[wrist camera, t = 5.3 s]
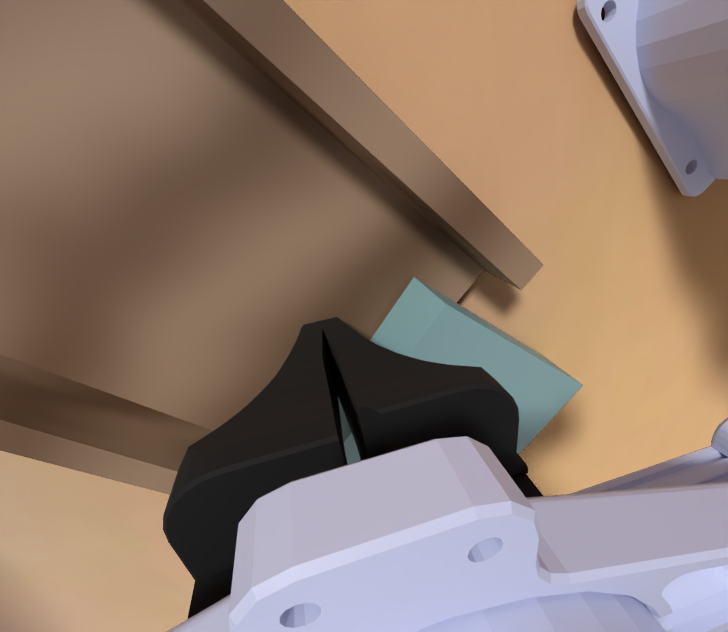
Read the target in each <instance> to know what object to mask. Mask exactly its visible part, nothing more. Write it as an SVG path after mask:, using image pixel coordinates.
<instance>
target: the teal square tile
mask: <svg viewBox="0 0 728 632" xmlns="http://www.w3.org/2000/svg"><path fill="white" fill-rule="evenodd" d="M370 341H372V342H374V343H375V344H377V345H379V346H382V347H384V348H386V349H389V350H391V351H394V352H396V353H399V354H402V355H405V356H409V357H412V358H416V359H420V360H424V361H429V362H435V363H441V364H448V365H460V366H474V367H482V368H483V369H484V370H485V371H486V372H488V373H489V374H490V375H491V376H492V377H493V378H495V379H496V380H497V381H498V382H499V383H500V384H501V385H502V386H503V388H504V389H505V390H506V391H507V392H508V393H509V394H510V395H511V396H512V397H513V398H514V400H515V402H516V404H517V406H518V410H519V430H518V442H517V453H518V455H519V454H520V453H521V452H522V451H523V450H524V448H525V447H526V446H527V445H528V444H529V443H530V442H531V441H532V440H533V439H534V438H535V437H536V436H537V434H538V433H539V432H540V431H541V430H542V429H543V428H544V427H545V426H546V425H547V424H548V423H549V422H550V420H551V419H552V418H553V417H554V416H555V415H556V414H557V413H558V412H559V411H560V410H561V409H562V408H563V406H564V405H565V404H566V403H567V402H568V401H569V400H570V399H571V398H572V397H573V396H574V395H575V394H576V392H577V391H578V390H579V389H580V388H581V387H582V386H583V385H582V384H581V383H579V382H578V381H577V380H575V379H574V378H573V377H571V376H570V375H569V374H567V373H566V372H565V371H563V370H562V369H560V368H559V367H558V366H556V365H555V364H554V363H552V362H551V361H550V360H548V359H547V358H546V357H544V356H543V355H541V354H539V353H538V352H536V351H534V350H533V349H531V348H530V347H528V346H526V345H525V344H523V343H521V342H520V341H518V340H516V339H515V338H513V337H511V336H510V335H508V334H507V333H505V332H503V331H502V330H500V329H498V328H497V327H495V326H493V325H492V324H490V323H489V322H487V321H485V320H484V319H482V318H480V317H479V316H477V315H475V314H474V313H472V312H471V311H469V310H467V309H466V308H464V307H462V306H461V305H459V304H457V303H456V302H454V301H453V300H451V299H449V298H448V297H446V296H444V295H443V294H441V293H439V292H438V291H436V290H434V289H433V288H431V287H430V286H428V285H426V284H425V283H423V282H421V281H420V280H418V279H416V278H415V277H414V278H413V279H412V281H411V282H410V284H409V285H408V286H407V288H406V289H405V291H404V292H403V294H402V295H401V296H400V298H399V299H398V301H397V302H396V304H395V305H394V307H393V308H392V309H391V311H390V312H389V314H388V315H387V317H386V318H385V320H384V321H383V322H382V324H381V325H380V327H379V328H378V330H377V331H376V333H375V334H374V335H373V337H372V338H371V340H370ZM338 402H339V410H340V418H341V426H342V434H343V442H344V448H345V454H346V459H347V463H348V464H352V463H355V462H358V461H361V459H360V456H359V452H358V449H357V446H356V443H355V440H354V437H353V435H352V432H351V429H350V427H349V424H348V421H347V419H346V416H345V413H344V411H343V408H342V405H341V403H340V400H339V397H338Z"/></svg>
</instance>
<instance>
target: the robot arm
mask: <svg viewBox="0 0 728 632" xmlns="http://www.w3.org/2000/svg"><path fill="white" fill-rule="evenodd" d="M602 7H604V10H605V18H604V20H602V18H601V11H602ZM577 12H578V15H579V18H580V20H581V21H582V23H583V25H584V26H585V28H586V30H587V32H588V33H589V35H590V37H591V39H592V40H593V42H594V44H595V45H596V47H597V49H598V51H599V52H600V54H601V56H602V58H603V59H604V61H605V63H606V64H607V66H608V68H609V70H610V71H611V73H612V75H613V77H614V78H615V80H616V82H617V83H618V85H619V87H620V89H621V90H622V92H623V94H624V96H625V97H626V99H627V101H628V102H629V104H630V106H631V108H632V109H633V111H634V113H635V115H636V116H637V118H638V120H639V121H640V123H641V125H642V127H643V128H644V130H645V132H646V134H647V135H648V137H649V139H650V140H651V142H652V144H653V146H654V147H655V149H656V151H657V153H658V154H659V156H660V158H661V159H662V161H663V163H664V165H665V166H666V168H667V170H668V172H669V173H670V175H671V177H672V178H673V180H674V182H675V184H676V185H677V187H678V189H679V191H680V192H681V194H682V195H683V196H692V197H696V196H698V195H700V194H701V193H702V192H704V191H705V190H706V189H707V188H708V187H709V186H710V184H711V183H712V182H713V181H714V180H715V179H728V0H577ZM338 397H339V400H340V403H341V405H342V408H343V411H344V413H345V416H346V419H347V421H348V424H349V427H350V429H351V432H352V435H353V437H354V440H355V443H356V446H357V449H358V452H359V456H360V459H361V461H358V462H355V463H352V464H348V463H347V459H346V454H345V448H344V442H343V434H342V426H341V418H340V410H339V402H338ZM518 430H519V410H518V406H517V404H516V402H515V400H514V398H513V397H512V396H511V395H510V394H509V393H508V392H507V391H506V390H505V389H504V388H503V386H502V385H501V384H500V383H499V382H498V381H497V380H496V379H495V378H493V377H492V376H491V375H490V374H489V373H488V372H486V371H485V370H484V369H483V368H482V367H474V366H460V365H448V364H441V363H435V362H429V361H424V360H420V359H416V358H412V357H409V356H405V355H402V354H399V353H396V352H394V351H391V350H389V349H386V348H384V347H382V346H379V345H377V344H375V343H374V342H372V341H370V340H368V339H366V338H365V337H363V336H362V335H360V334H359V333H357V332H356V331H355V330H353V329H352V328H351V327H349V326H348V325H347V324H345V323H344V322H343V321H342V320H341V319H339V318H338V317H334V318H330V319H326V320H321V321H317V322H313V323H309V324H304V325H303V326H302V327H301V329H300V332H299V335H298V337H297V339H296V342H295V344H294V346H293V348H292V350H291V352H290V354H289V355H288V357H287V359H286V360H285V362H284V364H283V365H282V367H281V368H280V370H279V371H278V373H277V374H276V375H275V377H274V378H273V379H272V380H271V381H270V383H269V384H268V385H267V386H266V387H265V388H264V389H263V390H262V391H261V392H260V393H259V394H258V395H257V396H256V397H255V398H254V399H253V400H252V401H251V402H250V403H249V404H248V405H247V406H245V407H244V408H243V409H242V410H241V411H239V412H238V413H237V414H236V415H234V416H233V417H232V418H231V419H229V420H228V421H227V422H225V423H224V424H223V425H221V426H220V427H218V428H217V429H215V430H214V431H212V432H211V433H209V434H208V435H206V436H205V437H203V438H201V439H200V440H198V441H197V442H195V443H194V444H192V445H190V446H189V447H188V449H187V451H186V453H185V456H184V458H183V460H182V462H181V465H180V467H179V470H178V472H177V475H176V478H175V481H174V484H173V487H172V490H171V493H170V497H169V500H168V503H167V506H166V509H165V512H164V516H163V530H164V533H165V535H166V537H167V540H168V542H169V543H170V545H171V546H172V548H173V549H174V551H175V552H176V554H177V555H178V556H179V558H180V559H181V561H182V562H183V564H184V565H185V567H186V568H187V569H188V571H189V572H190V574H191V575H192V577H193V578H194V580H195V584H194V590H193V595H192V600H191V605H190V610H189V615H188V619H187V620H186V621H184V622H182V623H181V624H179V625H177V626H175V627H174V628H172V629H170V630H169V631H167V632H728V418H727V419H725V420H724V421H723V422H722V423H721V424H719V426H718V427H717V429H716V430H715V432H714V435H713V438H712V441H711V446H709V447H706V448H703V449H700V450H697V451H694V452H692V453H689V454H686V455H683V456H680V457H677V458H674V459H671V460H668V461H665V462H662V463H659V464H656V465H654V466H651V467H648V468H645V469H642V470H639V471H636V472H633V473H630V474H627V475H624V476H621V477H618V478H616V479H613V480H610V481H607V482H604V483H601V484H598V485H595V486H592V487H589V488H586V489H583V490H580V491H578V492H575V493H572V494H566V495H553V496H543V495H542V494H541V492H540V491H539V490H538V489H537V487H536V486H535V485H534V484H533V482H532V481H531V480H530V478H529V477H528V476H527V475H526V473H528V467H527V465H526V463H525V462H524V461H523V460H522V458H521V457H520V456H519V455H518V453H517V442H518Z"/></svg>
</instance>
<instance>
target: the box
mask: <svg viewBox="0 0 728 632" xmlns="http://www.w3.org/2000/svg"><path fill="white" fill-rule="evenodd" d="M542 266H543V264H542V263H541V262H540V261H539V260H538V259H537V258H536V257H535V256H534V255H533V253H532V252H531V251H530V250H529V249H528V248H527V247H526V246H525V245H524V244H523V243H522V242H521V241H520V240H519V239H518V238H517V237H516V236H515V235H514V234H513V233H512V232H511V231H510V230H509V229H508V228H507V227H506V226H505V225H504V224H503V223H502V222H501V221H500V220H499V219H498V218H497V217H496V216H495V215H494V214H493V213H492V212H491V211H490V210H489V209H488V208H487V207H486V206H485V205H484V204H483V203H482V202H481V201H480V200H479V199H478V198H477V197H476V196H475V195H474V194H473V193H472V192H471V191H470V190H469V189H468V187H467V186H466V185H465V184H464V183H463V182H462V181H461V180H460V179H459V178H458V177H457V176H456V175H455V174H454V173H453V172H452V171H451V170H450V169H449V168H448V167H447V166H446V165H445V164H444V163H443V162H442V161H441V160H440V159H439V158H438V157H437V156H436V155H435V154H434V153H433V152H432V151H431V150H430V149H429V148H428V147H427V146H426V145H425V144H424V143H423V142H422V141H421V140H420V139H419V138H418V137H417V136H416V135H415V134H414V133H413V132H412V131H411V130H410V129H409V128H408V127H407V126H406V125H405V124H404V122H403V121H402V120H401V119H400V118H399V117H398V116H397V115H396V114H395V113H394V112H393V111H392V110H391V109H390V108H389V107H388V106H387V105H386V104H385V103H384V102H383V101H382V100H381V99H380V98H379V97H378V96H377V95H376V94H375V93H374V92H373V91H372V90H371V89H370V88H369V87H368V86H367V85H366V84H365V83H364V82H363V81H362V80H361V79H360V78H359V77H358V76H357V75H356V74H355V73H354V72H353V71H352V70H351V69H350V68H349V67H348V66H347V65H346V64H345V63H344V62H343V61H342V60H341V59H340V58H339V56H338V55H337V54H336V53H335V52H334V51H333V50H332V49H331V48H330V47H329V46H328V45H327V44H326V43H325V42H324V41H323V40H322V39H321V38H320V37H319V36H318V35H317V34H316V33H315V32H314V31H313V30H312V29H311V28H310V27H309V26H308V25H307V24H306V23H305V22H304V21H303V20H302V19H301V18H300V17H299V16H298V15H297V14H296V13H295V12H294V11H293V10H292V9H291V8H290V7H289V6H288V5H287V4H286V3H285V2H284V1H283V0H0V450H1V451H5V452H9V453H13V454H16V455H20V456H24V457H28V458H32V459H36V460H39V461H43V462H47V463H51V464H55V465H59V466H62V467H66V468H70V469H74V470H78V471H81V472H85V473H89V474H93V475H97V476H101V477H104V478H108V479H112V480H116V481H120V482H124V483H127V484H131V485H135V486H139V487H143V488H147V489H150V490H154V491H158V492H162V493H166V494H170V493H171V490H172V487H173V484H174V481H175V478H176V475H177V472H178V470H179V467H180V465H181V462H182V460H183V458H184V456H185V453H186V451H187V449H188V447H189V446H190V445H192V444H194V443H195V442H197V441H198V440H200V439H201V438H203V437H205V436H206V435H208V434H209V433H211V432H212V431H214V430H215V429H217V428H218V427H220V426H221V425H223V424H224V423H225V422H227V421H228V420H229V419H231V418H232V417H233V416H234V415H236V414H237V413H238V412H239V411H241V410H242V409H243V408H244V407H245V406H247V405H248V404H249V403H250V402H251V401H252V400H253V399H254V398H255V397H256V396H257V395H258V394H259V393H260V392H261V391H262V390H263V389H264V388H265V387H266V386H267V385H268V384H269V383H270V381H271V380H272V379H273V378H274V377H275V375H276V374H277V373H278V371H279V370H280V368H281V367H282V365H283V364H284V362H285V360H286V359H287V357H288V355H289V354H290V352H291V350H292V348H293V346H294V344H295V342H296V339H297V337H298V335H299V332H300V329H301V327H302V326H303V325H304V324H309V323H313V322H317V321H321V320H326V319H330V318H334V317H338V318H339V319H341V320H342V321H343V322H344V323H345V324H347V325H348V326H349V327H351V328H352V329H353V330H355V331H356V332H357V333H359V334H360V335H362V336H363V337H365V338H366V339H368V340H371V338H372V337H373V335H374V334H375V333H376V331H377V330H378V328H379V327H380V325H381V324H382V322H383V321H384V320H385V318H386V317H387V315H388V314H389V312H390V311H391V309H392V308H393V307H394V305H395V304H396V302H397V301H398V299H399V298H400V296H401V295H402V294H403V292H404V291H405V289H406V288H407V286H408V285H409V284H410V282H411V281H412V279H413V278H414V277H415V278H416V279H418V280H420V281H421V282H423V283H425V284H426V285H428V286H430V287H431V288H433V289H434V290H436V291H438V292H439V293H441V294H443V295H444V296H446V297H448V298H449V299H451V300H453V301H454V302H456V303H457V302H458V300H459V299H460V298H461V297H462V296H463V294H464V293H465V292H466V291H467V290H468V289H469V287H470V286H471V285H472V284H473V283H474V281H475V280H476V279H477V278H478V277H479V276H480V274H481V273H482V272H483V271H484V270H485V271H487V272H489V273H491V274H493V275H494V276H496V277H498V278H500V279H502V280H504V281H506V282H507V283H509V284H511V285H513V286H515V287H517V288H519V289H520V290H522V289H523V288H524V287H525V285H526V284H527V283H528V282H529V281H530V280H531V279H532V278H533V276H534V275H535V274H536V273H537V272H538V271H539V270H540V268H541V267H542Z"/></svg>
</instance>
